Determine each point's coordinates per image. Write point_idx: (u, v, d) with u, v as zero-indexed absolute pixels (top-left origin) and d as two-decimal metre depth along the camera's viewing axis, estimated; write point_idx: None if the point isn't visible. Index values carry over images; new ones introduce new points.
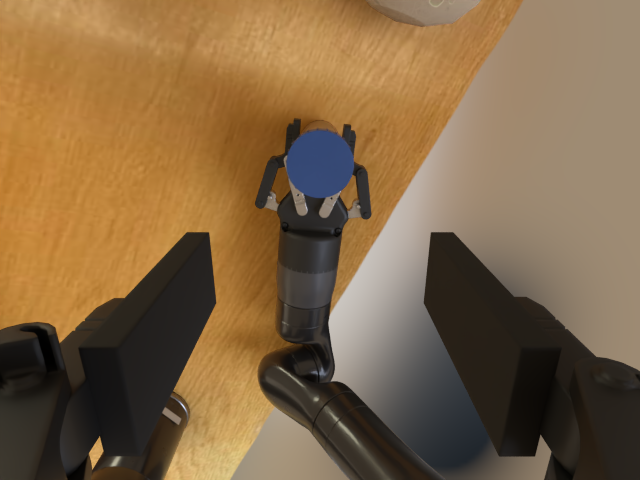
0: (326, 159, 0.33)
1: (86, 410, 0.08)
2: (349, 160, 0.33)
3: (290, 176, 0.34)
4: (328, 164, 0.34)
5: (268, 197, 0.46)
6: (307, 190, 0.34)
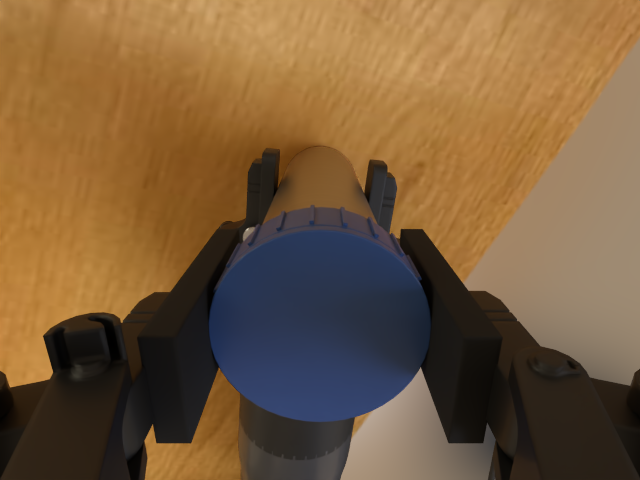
0: (341, 319, 0.10)
1: (143, 397, 0.08)
2: (418, 321, 0.10)
3: (224, 366, 0.11)
4: (347, 333, 0.10)
5: None
6: (280, 403, 0.11)
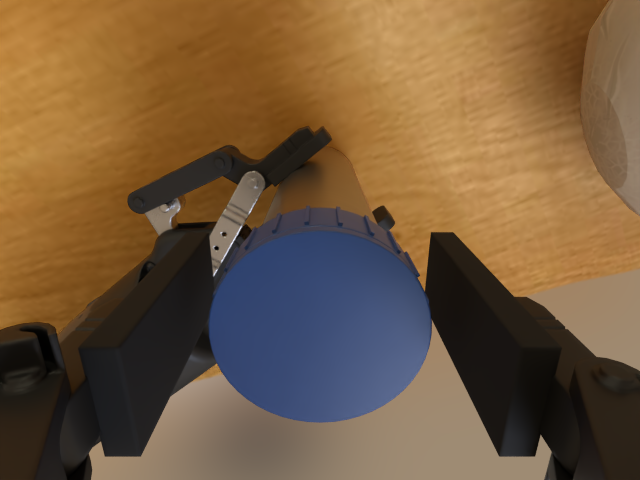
0: (310, 312, 0.10)
1: (86, 410, 0.08)
2: (343, 246, 0.09)
3: (317, 418, 0.11)
4: (328, 312, 0.10)
5: (162, 205, 0.21)
6: (379, 393, 0.11)
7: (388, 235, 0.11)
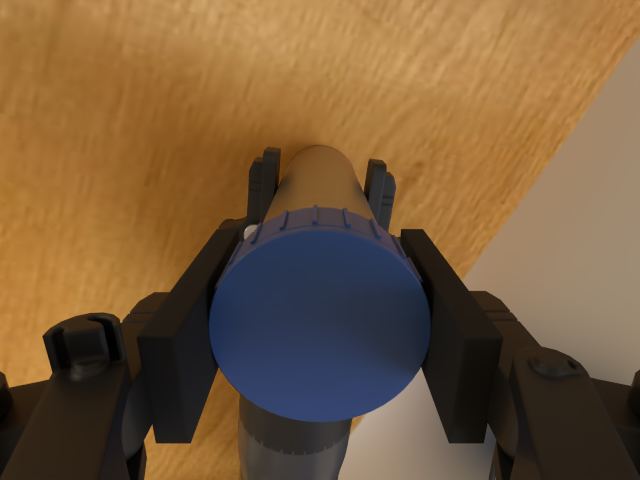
0: (293, 325, 0.10)
1: (143, 397, 0.08)
2: (263, 259, 0.09)
3: (388, 396, 0.11)
4: (306, 314, 0.10)
5: None
6: (414, 340, 0.10)
7: (312, 210, 0.11)
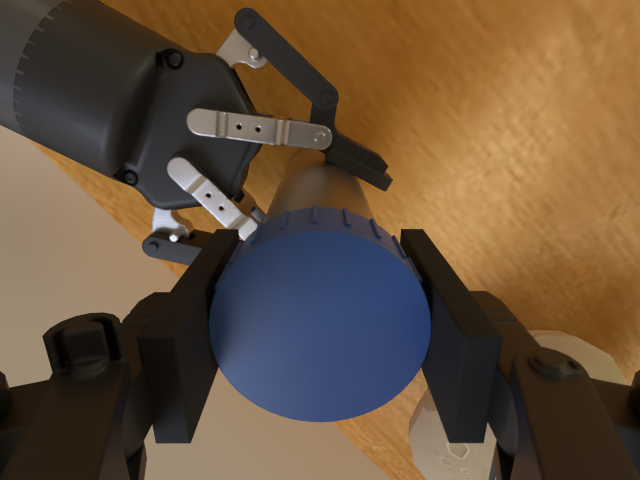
0: (293, 325, 0.10)
1: (143, 397, 0.08)
2: (263, 258, 0.09)
3: (388, 396, 0.11)
4: (306, 313, 0.10)
5: (255, 51, 0.18)
6: (414, 340, 0.10)
7: (312, 210, 0.11)
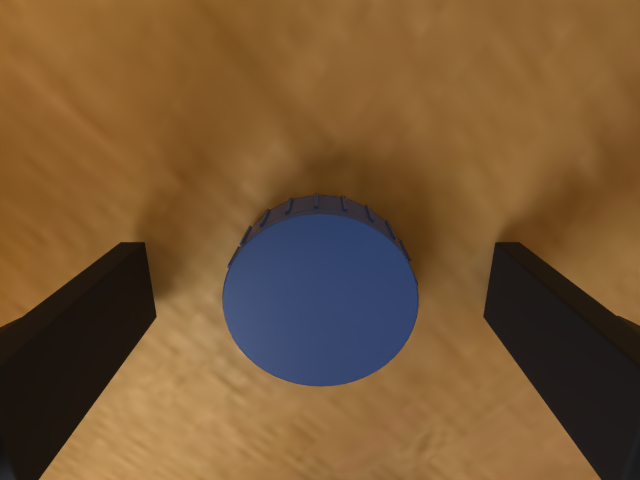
0: (297, 298, 0.11)
1: None
2: (271, 238, 0.11)
3: (380, 363, 0.12)
4: (308, 287, 0.11)
5: None
6: (403, 312, 0.12)
7: (314, 198, 0.12)
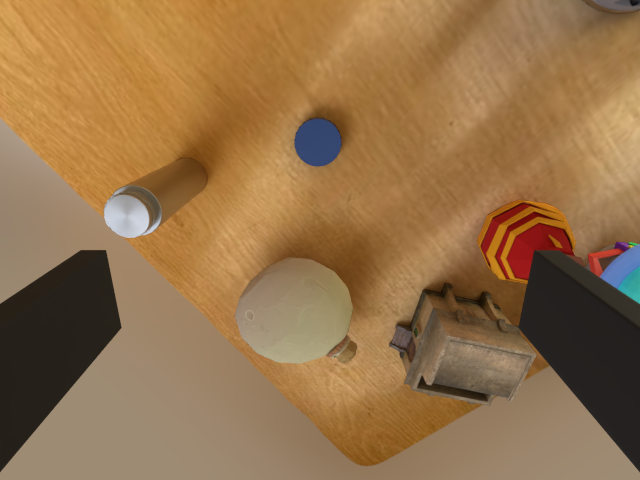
0: (312, 140, 0.49)
1: None
2: (306, 125, 0.48)
3: (332, 159, 0.49)
4: (315, 137, 0.49)
5: None
6: (337, 144, 0.49)
7: (316, 117, 0.49)
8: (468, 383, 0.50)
